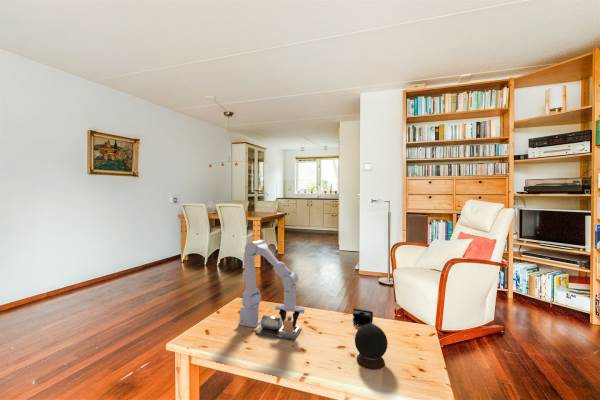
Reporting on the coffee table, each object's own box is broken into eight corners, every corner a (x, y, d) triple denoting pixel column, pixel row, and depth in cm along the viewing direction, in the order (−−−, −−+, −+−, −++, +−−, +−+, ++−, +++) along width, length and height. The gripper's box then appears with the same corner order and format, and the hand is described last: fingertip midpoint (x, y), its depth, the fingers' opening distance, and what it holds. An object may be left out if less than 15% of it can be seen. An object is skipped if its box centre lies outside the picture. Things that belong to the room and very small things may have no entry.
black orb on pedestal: (386, 355, 124) (387, 321, 123) (387, 374, 111) (388, 335, 111) (355, 350, 127) (356, 317, 127) (352, 367, 115) (353, 330, 114)
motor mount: (255, 334, 141) (255, 320, 141) (265, 323, 152) (265, 310, 152) (294, 340, 135) (294, 326, 135) (301, 329, 146) (301, 315, 146)
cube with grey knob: (283, 330, 140) (283, 318, 140) (286, 326, 144) (286, 314, 144) (292, 332, 139) (292, 319, 139) (295, 327, 143) (295, 315, 143)
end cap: (373, 322, 157) (373, 309, 157) (370, 327, 150) (371, 314, 150) (354, 318, 161) (354, 306, 160) (351, 323, 154) (352, 311, 154)
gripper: (273, 299, 140) (272, 327, 140) (301, 302, 136) (301, 331, 136) (278, 294, 147) (277, 320, 147) (305, 297, 142) (305, 325, 143)
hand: (289, 325), depth 142 cm, fingers closed on cube with grey knob, 4 cm apart
